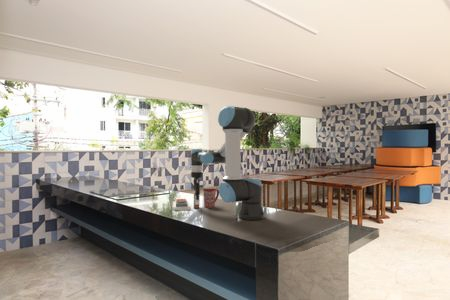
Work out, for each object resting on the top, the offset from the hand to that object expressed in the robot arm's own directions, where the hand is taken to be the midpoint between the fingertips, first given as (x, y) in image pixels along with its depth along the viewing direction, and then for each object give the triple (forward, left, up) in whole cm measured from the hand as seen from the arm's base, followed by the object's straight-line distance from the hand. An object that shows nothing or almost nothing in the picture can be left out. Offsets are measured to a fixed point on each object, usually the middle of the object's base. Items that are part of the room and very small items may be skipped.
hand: (196, 202), depth 204 cm
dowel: (0, 0, -4) cm, 4 cm away
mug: (-11, -4, -4) cm, 12 cm away
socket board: (+10, -6, -4) cm, 12 cm away
